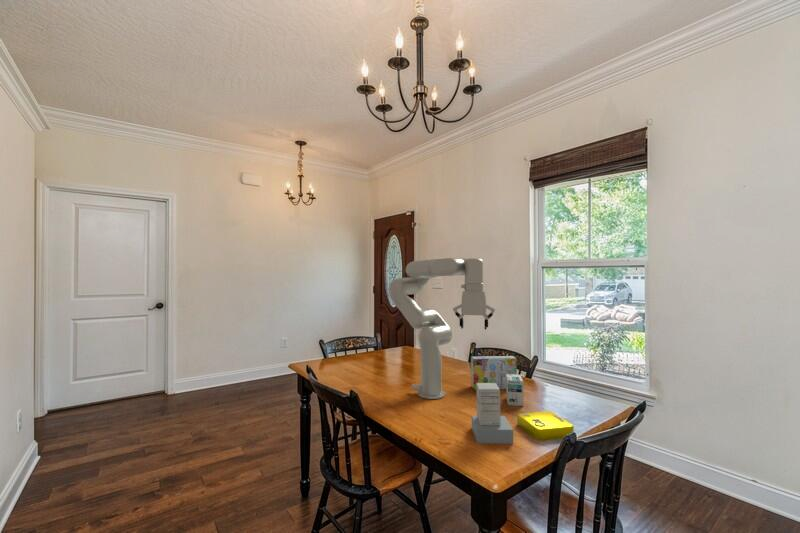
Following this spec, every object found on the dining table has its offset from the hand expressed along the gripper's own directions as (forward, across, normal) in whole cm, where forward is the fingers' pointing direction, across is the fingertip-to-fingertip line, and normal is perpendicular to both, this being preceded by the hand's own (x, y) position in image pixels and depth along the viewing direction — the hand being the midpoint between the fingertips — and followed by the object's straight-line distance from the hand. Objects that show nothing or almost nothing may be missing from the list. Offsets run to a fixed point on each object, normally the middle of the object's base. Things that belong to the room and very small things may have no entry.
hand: (473, 328), depth 161 cm
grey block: (+34, +7, -25) cm, 43 cm away
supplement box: (+29, +6, -25) cm, 39 cm away
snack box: (+34, +8, +30) cm, 46 cm away
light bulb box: (+34, +17, +12) cm, 40 cm away
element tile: (+34, +26, -16) cm, 46 cm away
